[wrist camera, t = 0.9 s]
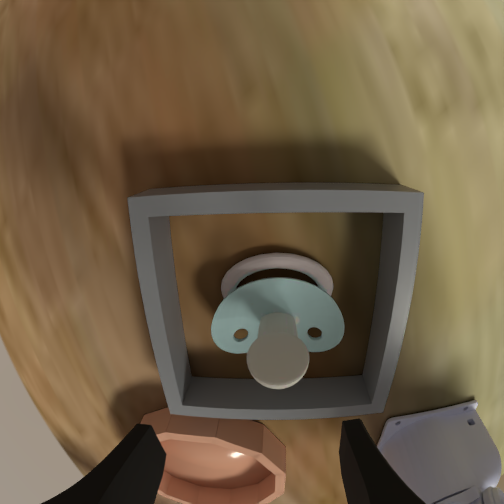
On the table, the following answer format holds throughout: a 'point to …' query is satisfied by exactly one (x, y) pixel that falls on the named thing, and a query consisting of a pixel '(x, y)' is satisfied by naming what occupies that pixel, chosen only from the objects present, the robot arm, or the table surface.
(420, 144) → the table surface
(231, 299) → the pacifier
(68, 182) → the table surface
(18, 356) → the table surface
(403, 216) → the gray square frame
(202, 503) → the bowl
